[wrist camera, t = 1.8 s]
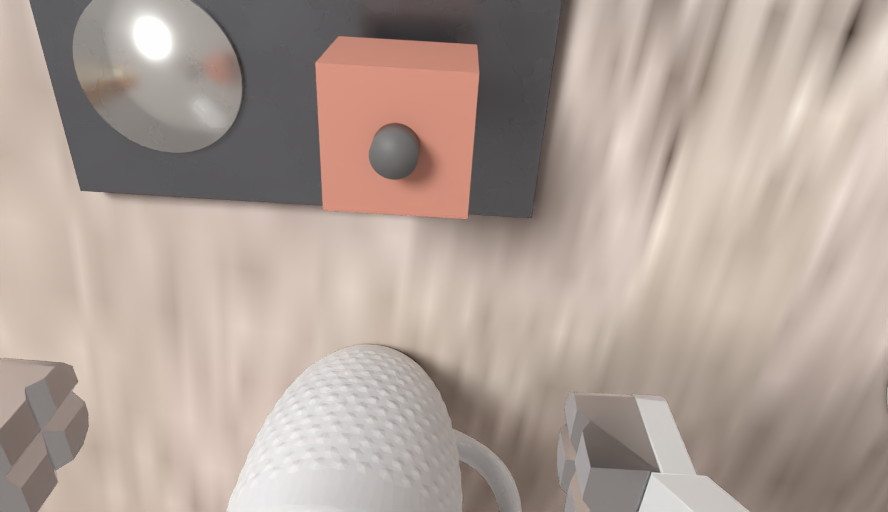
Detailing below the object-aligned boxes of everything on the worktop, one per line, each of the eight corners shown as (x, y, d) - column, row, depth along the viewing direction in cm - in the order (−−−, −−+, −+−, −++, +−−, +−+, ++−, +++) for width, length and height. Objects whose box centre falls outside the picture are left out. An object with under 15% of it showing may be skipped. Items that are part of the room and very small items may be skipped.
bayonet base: (565, -60, 25) (598, -44, 19) (529, 207, 31) (545, 285, 25) (23, -93, 25) (-123, -88, 19) (93, 180, 31) (1, 252, 25)
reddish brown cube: (477, 44, 23) (480, 81, 19) (467, 173, 26) (467, 232, 21) (338, 36, 23) (308, 70, 19) (342, 165, 26) (317, 223, 21)
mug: (552, 371, 37) (591, 584, 25) (475, 484, 42) (479, 702, 31) (311, 285, 34) (235, 480, 23) (261, 418, 39) (179, 630, 28)
